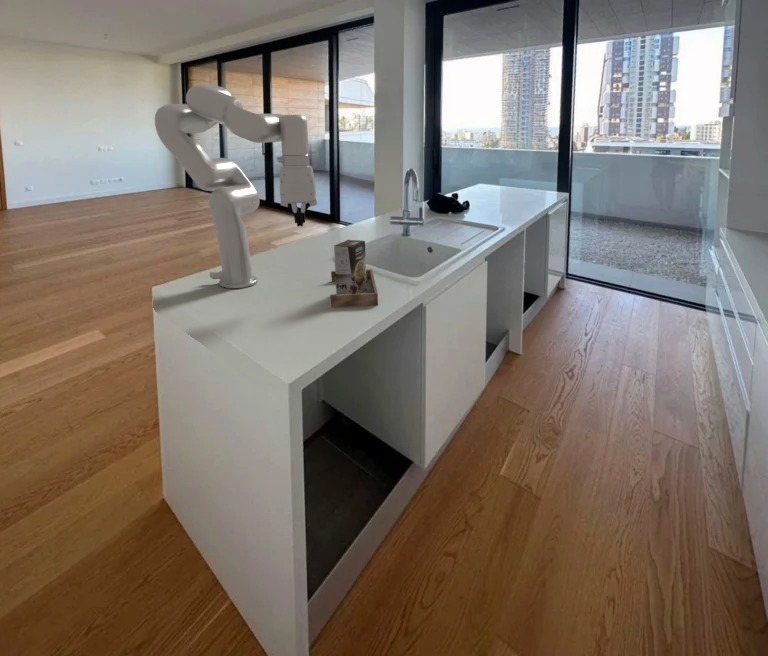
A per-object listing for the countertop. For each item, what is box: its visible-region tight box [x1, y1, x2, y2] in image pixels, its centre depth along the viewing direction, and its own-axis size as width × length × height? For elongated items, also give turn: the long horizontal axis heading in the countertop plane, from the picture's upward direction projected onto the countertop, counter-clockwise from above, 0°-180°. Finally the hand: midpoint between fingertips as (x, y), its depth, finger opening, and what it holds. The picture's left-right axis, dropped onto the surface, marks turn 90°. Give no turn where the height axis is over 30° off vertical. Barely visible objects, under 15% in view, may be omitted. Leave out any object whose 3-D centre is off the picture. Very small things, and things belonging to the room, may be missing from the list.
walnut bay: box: [329, 269, 379, 308], centre depth 157 cm, size 14×26×4 cm, turn 5°
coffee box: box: [333, 239, 367, 295], centre depth 154 cm, size 9×6×16 cm
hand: (300, 225), depth 150 cm, fingers closed
